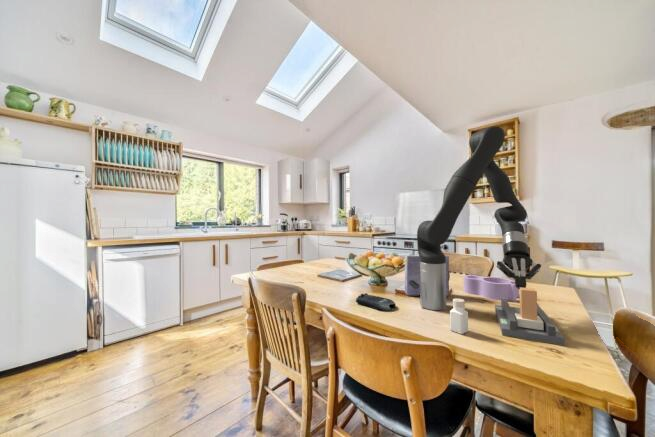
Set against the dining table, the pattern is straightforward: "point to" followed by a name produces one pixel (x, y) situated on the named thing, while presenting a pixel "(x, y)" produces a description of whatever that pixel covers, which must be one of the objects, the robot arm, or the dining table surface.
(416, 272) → the cake pan box
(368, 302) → the electronic device
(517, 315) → the switch lever
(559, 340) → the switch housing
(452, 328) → the salt shaker
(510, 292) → the lavender double ring holder
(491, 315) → the dining table surface
